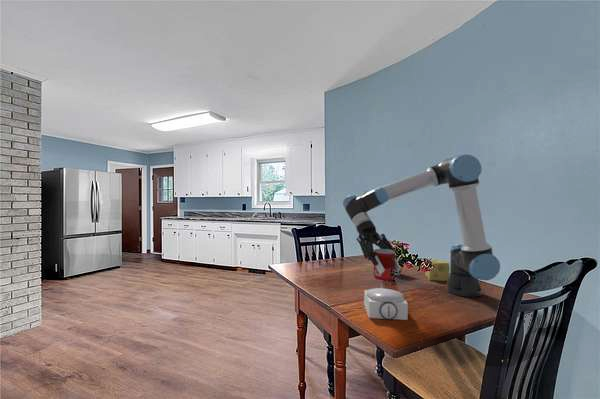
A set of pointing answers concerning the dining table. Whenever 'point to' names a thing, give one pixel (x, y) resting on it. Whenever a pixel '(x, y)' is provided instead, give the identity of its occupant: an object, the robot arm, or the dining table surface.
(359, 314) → the dining table surface
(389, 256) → the canned food
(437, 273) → the cheese
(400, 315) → the kitchen scale
